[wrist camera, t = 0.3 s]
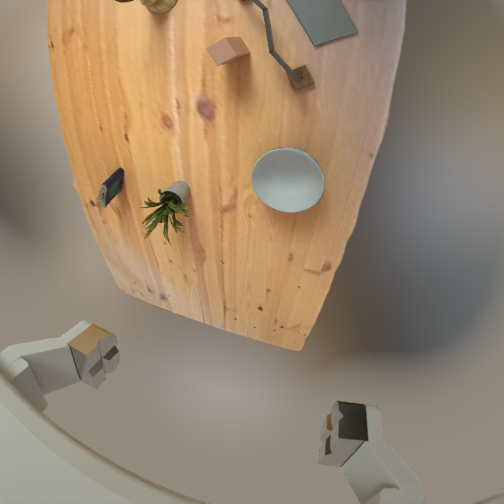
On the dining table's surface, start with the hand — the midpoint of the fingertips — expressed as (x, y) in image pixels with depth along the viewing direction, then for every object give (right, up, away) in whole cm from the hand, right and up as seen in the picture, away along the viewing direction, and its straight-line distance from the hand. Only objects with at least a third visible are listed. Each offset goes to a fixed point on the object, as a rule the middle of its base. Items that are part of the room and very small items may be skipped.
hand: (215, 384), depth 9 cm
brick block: (-2, +44, +35) cm, 56 cm away
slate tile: (+14, +48, +26) cm, 56 cm away
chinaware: (+10, +24, +51) cm, 58 cm away
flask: (-39, +27, +66) cm, 81 cm away
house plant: (-18, +21, +65) cm, 70 cm away
